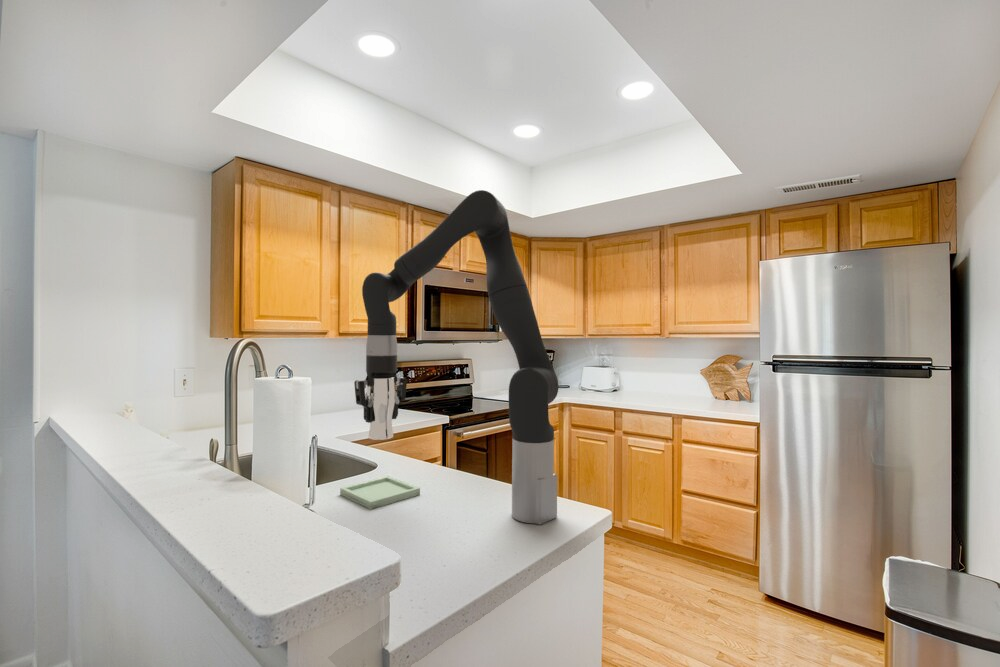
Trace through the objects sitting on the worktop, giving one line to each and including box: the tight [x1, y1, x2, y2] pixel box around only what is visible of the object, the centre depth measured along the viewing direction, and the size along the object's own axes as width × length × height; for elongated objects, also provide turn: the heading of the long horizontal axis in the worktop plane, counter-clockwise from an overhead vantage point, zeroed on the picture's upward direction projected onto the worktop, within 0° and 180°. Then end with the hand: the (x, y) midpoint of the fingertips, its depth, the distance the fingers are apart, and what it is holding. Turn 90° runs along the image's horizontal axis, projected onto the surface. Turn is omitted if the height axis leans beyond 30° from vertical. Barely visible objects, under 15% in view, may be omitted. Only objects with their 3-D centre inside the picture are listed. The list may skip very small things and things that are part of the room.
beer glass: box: [366, 377, 396, 441], centre depth 119 cm, size 7×7×15 cm
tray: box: [339, 475, 421, 510], centre depth 119 cm, size 14×14×2 cm
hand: (381, 420), depth 119 cm, fingers closed on beer glass, 6 cm apart
